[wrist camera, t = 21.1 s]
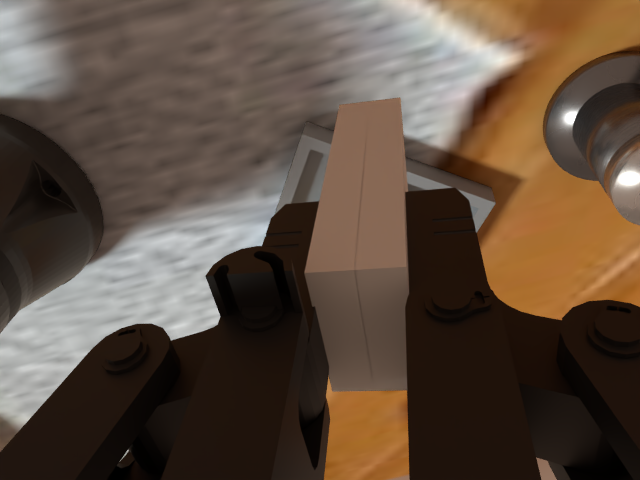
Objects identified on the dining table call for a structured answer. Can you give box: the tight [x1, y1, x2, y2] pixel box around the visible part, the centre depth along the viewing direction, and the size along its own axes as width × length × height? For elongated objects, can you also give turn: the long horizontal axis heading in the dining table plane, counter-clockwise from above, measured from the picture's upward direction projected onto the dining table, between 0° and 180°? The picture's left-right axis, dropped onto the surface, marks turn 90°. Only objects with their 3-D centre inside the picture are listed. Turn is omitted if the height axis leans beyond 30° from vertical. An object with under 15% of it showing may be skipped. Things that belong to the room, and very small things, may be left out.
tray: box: [275, 122, 496, 233], centre depth 39 cm, size 14×14×2 cm
